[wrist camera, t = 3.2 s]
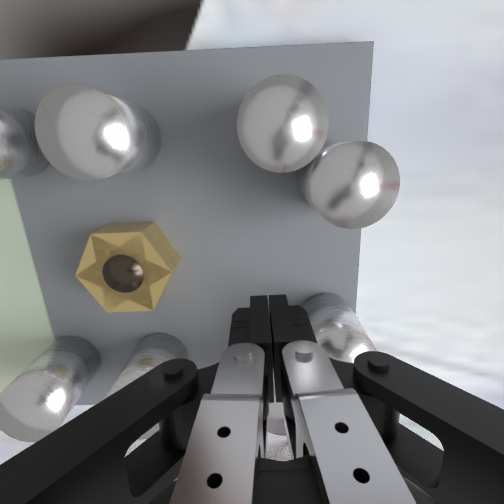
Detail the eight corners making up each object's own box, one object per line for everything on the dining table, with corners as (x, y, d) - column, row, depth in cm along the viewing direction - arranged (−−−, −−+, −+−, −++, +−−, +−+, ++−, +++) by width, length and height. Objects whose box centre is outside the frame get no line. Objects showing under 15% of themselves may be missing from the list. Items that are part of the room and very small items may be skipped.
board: (-222, 76, 17) (-249, 72, 17) (367, 47, 17) (373, 41, 16) (-76, 399, 24) (-89, 409, 23) (345, 387, 24) (349, 397, 23)
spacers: (-23, 108, 17) (-130, 93, 12) (366, 90, 17) (411, 67, 12) (54, 380, 23) (1, 442, 18) (348, 371, 22) (374, 433, 17)
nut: (88, 224, 19) (64, 235, 17) (177, 220, 19) (166, 231, 17) (102, 294, 20) (83, 313, 18) (185, 291, 20) (176, 310, 18)
